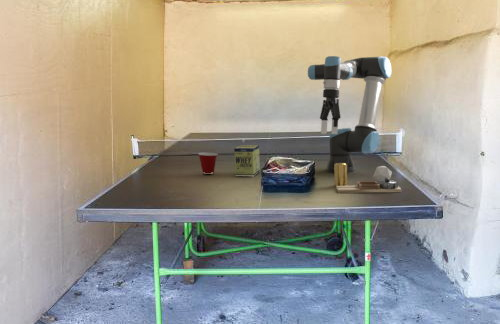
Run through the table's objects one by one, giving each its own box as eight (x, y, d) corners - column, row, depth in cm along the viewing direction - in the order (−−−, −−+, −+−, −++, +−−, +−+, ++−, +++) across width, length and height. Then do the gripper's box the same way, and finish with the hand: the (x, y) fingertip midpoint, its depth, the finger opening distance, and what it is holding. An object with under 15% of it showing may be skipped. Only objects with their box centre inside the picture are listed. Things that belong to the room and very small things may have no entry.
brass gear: (334, 185, 259) (334, 162, 258) (346, 185, 259) (346, 162, 257) (335, 187, 254) (335, 164, 252) (347, 187, 253) (347, 164, 251)
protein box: (234, 177, 289) (233, 148, 286) (242, 171, 304) (241, 144, 301) (253, 177, 286) (252, 148, 284) (260, 172, 301) (259, 144, 299)
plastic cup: (221, 174, 297) (220, 153, 295) (202, 176, 293) (201, 154, 291) (215, 171, 307) (214, 151, 305) (196, 173, 303) (195, 152, 301)
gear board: (336, 188, 252) (336, 181, 251) (397, 187, 250) (397, 180, 249) (338, 192, 242) (338, 186, 242) (401, 191, 240) (401, 184, 240)
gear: (375, 185, 250) (375, 176, 250) (395, 184, 250) (395, 176, 249) (378, 189, 241) (378, 180, 240) (399, 189, 240) (399, 180, 240)
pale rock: (383, 181, 269) (371, 166, 267) (397, 174, 263) (385, 159, 262) (379, 189, 262) (367, 175, 261) (394, 182, 257) (382, 167, 255)
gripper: (314, 90, 268) (312, 133, 269) (333, 87, 244) (331, 133, 245) (329, 91, 270) (326, 133, 271) (349, 88, 245) (346, 134, 247)
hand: (328, 133), depth 258 cm, fingers open, 13 cm apart
